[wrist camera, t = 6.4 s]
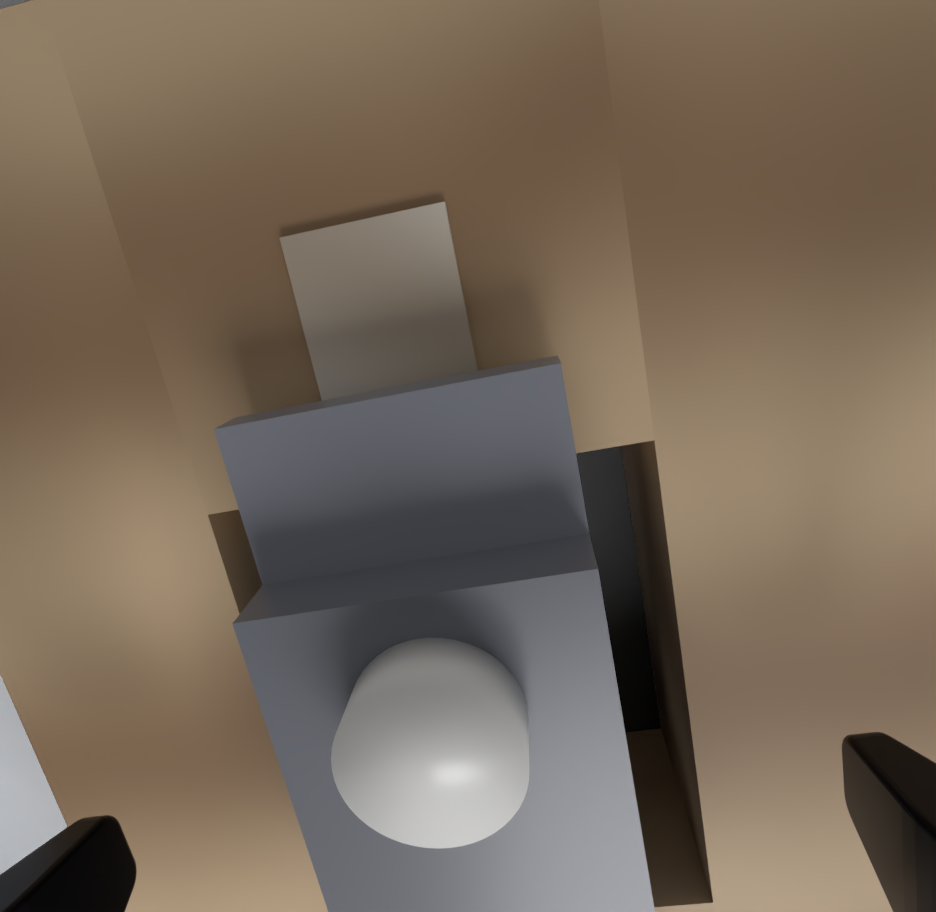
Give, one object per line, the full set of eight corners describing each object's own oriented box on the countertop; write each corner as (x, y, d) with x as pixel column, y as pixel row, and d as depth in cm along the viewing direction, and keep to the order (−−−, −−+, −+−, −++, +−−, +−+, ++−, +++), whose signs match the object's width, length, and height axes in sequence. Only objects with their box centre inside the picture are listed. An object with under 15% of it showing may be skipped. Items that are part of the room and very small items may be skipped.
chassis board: (870, 937, 15) (992, 1172, 11) (292, 978, 17) (224, 1192, 13) (823, -71, 10) (1019, -284, 6) (-6, 140, 12) (-270, 80, 8)
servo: (622, 776, 15) (703, 1189, 8) (445, 795, 15) (387, 1198, 9) (544, 321, 12) (572, 394, 6) (333, 363, 13) (130, 474, 6)
